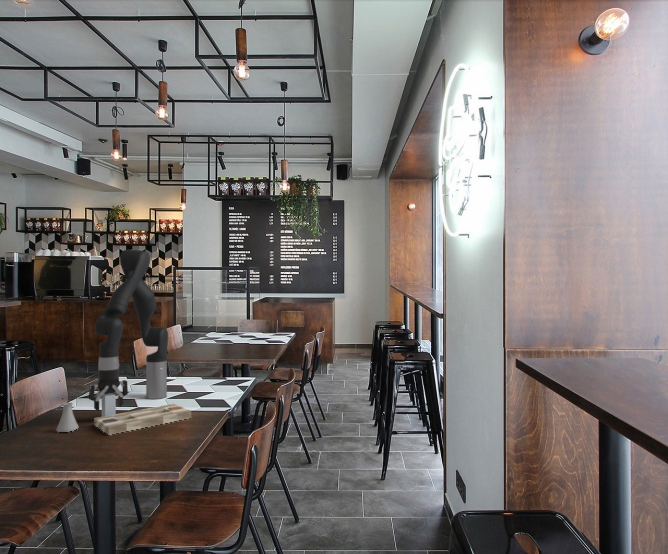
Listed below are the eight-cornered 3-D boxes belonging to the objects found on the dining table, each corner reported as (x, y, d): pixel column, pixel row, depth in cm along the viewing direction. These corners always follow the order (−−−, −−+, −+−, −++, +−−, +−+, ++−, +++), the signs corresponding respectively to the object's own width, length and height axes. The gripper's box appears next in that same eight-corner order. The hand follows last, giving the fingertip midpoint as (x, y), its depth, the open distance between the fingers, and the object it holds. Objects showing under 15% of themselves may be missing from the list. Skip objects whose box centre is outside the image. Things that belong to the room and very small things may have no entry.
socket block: (94, 426, 189) (94, 417, 189) (173, 410, 211) (173, 403, 211) (108, 435, 178) (108, 426, 178) (191, 418, 199) (191, 410, 199)
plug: (101, 419, 198) (101, 394, 198) (112, 417, 200) (112, 393, 201) (105, 421, 195) (105, 396, 195) (115, 419, 198) (115, 394, 198)
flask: (83, 428, 186) (83, 402, 186) (66, 434, 179) (67, 406, 179) (68, 426, 188) (68, 400, 188) (51, 432, 182) (51, 405, 182)
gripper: (123, 364, 205) (123, 403, 205) (86, 368, 196) (86, 409, 195) (130, 366, 200) (130, 407, 200) (93, 371, 190) (92, 413, 190)
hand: (108, 408), depth 197 cm, fingers open, 8 cm apart
